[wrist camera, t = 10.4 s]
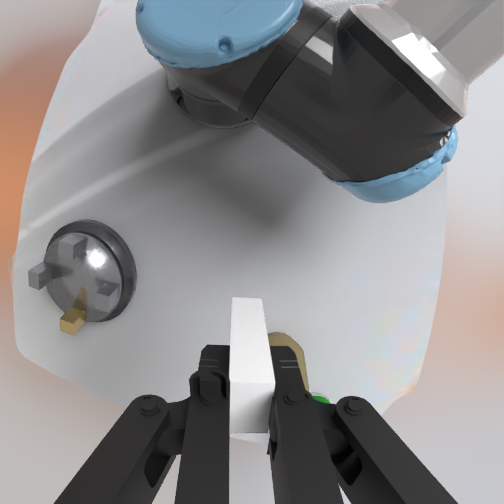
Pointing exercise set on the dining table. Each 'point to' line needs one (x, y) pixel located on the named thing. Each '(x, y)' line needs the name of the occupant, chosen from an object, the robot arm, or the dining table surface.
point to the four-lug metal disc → (80, 278)
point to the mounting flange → (118, 248)
